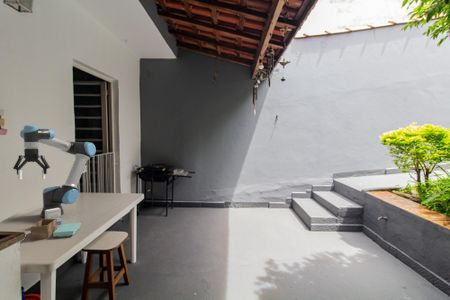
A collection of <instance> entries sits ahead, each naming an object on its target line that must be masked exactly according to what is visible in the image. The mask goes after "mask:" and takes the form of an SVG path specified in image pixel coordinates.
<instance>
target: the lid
mask: <svg viewBox="0 0 450 300" xmlns="http://www.w3.org/2000/svg"><path fill="white" fill-rule="evenodd" d="M81 227H82V226H81V222H77V223H76V222H75V223H61V224H60V226H59V227H57V230H56V231H54V232H53V234H52V236H53V237H58V238H63V237H65V238H66V237H71V236H73V235H74V234H75V233H77V232H78V230H79V229H80V228H81Z"/></svg>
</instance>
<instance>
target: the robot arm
mask: <svg viewBox="0 0 450 300" xmlns="http://www.w3.org/2000/svg"><path fill="white" fill-rule="evenodd" d="M19 136H20V138H22V139H23V148H24V149H23V150H24V151H23V154H24V155H22V154H21V155H18V159H17V161H16V162H15V164H14V165H13V167H12V168H13V170H15V171H16V175H18V180H19V181H20V180H23V169H22V168H23V167H24V166H25V165H26V164H28V163H34V162H35V163H36V164H37V165H38V166H39V167H41V169H42V170H41V177H42V178H41V180H45V179H46V175H47V174H48V173H47V171H48V169H50V165H49V163H48V161H47V160H46V159H45V155H44V154H43V155H42V154H41V155H39V143H40V144H43V145H47V146H51V147H54V148H55V149H59V150H61V151H62V152H65V153H66V154H67V153H68V154H71V155H74V156H75V159H74V162H73V164H72V166H71V169H70V171H69V173H68V176H67V178H66V180H65V183H64V184H62V185H61V186H60V185H58V186H57V185H54V186H49V187H45V188H44V189H43V190H42V205H43V206H42V210H41V212H40V218H42V219H45V210H49V209H54V208H60V209H61V216H63V215H64V214H65V213H64V212H65V211H64V209H63V206H62V204H63V205H72V204H74V203H76V202H77V200H78V199H79V198H80V192H79V188H78V185H79V182H80V179H81V178H82V174H83V171H84V169H85V166H86V163H88V160H90V159H91V157H93V156H94V155H95V154H96V151H97V149H96V146H95V144H94V143H93V142H89V141H84V142H83V141H69V140H63V139H61V138H57V137H55V136H56V133H55V130H53V129H49V128H39V126H37V125H30V124H29V125H28V124H27V125H24V126H23V128H22V130H20V133H19ZM23 159H24V160H23ZM39 159H40V160H41V161H40V160H39ZM22 160H23V161H22Z"/></svg>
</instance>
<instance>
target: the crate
mask: <svg viewBox="0 0 450 300" xmlns="http://www.w3.org/2000/svg"><path fill="white" fill-rule="evenodd" d="M57 229H58V225H57V219H45V218H43V219H40V220H39V221H37V222H36V223H34V224H33V225H32V226H30V240H31V241H34V240H35V241H36V240H45V239H46V240H47V239H49V238H50V237H51V236H53V232H54V231H56V230H57Z"/></svg>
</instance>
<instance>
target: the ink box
mask: <svg viewBox="0 0 450 300" xmlns="http://www.w3.org/2000/svg"><path fill="white" fill-rule="evenodd" d="M44 219H57V226H59V225H60V226H61V225H62V215H61V209H60V208H54V209H49V210H45V218H44Z"/></svg>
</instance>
